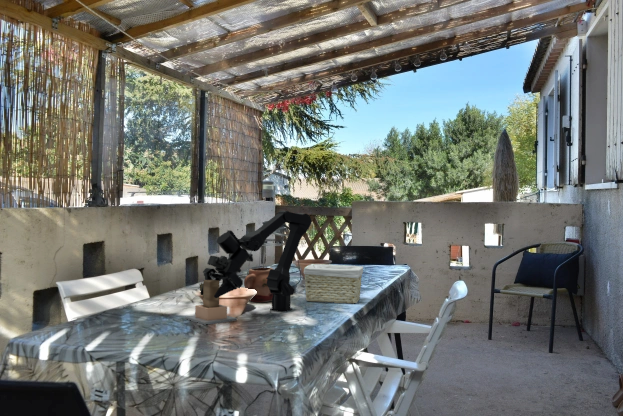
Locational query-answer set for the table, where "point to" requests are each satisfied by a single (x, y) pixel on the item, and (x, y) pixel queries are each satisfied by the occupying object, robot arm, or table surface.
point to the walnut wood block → (210, 293)
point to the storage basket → (333, 283)
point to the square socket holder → (210, 315)
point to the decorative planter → (259, 284)
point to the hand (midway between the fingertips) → (207, 295)
